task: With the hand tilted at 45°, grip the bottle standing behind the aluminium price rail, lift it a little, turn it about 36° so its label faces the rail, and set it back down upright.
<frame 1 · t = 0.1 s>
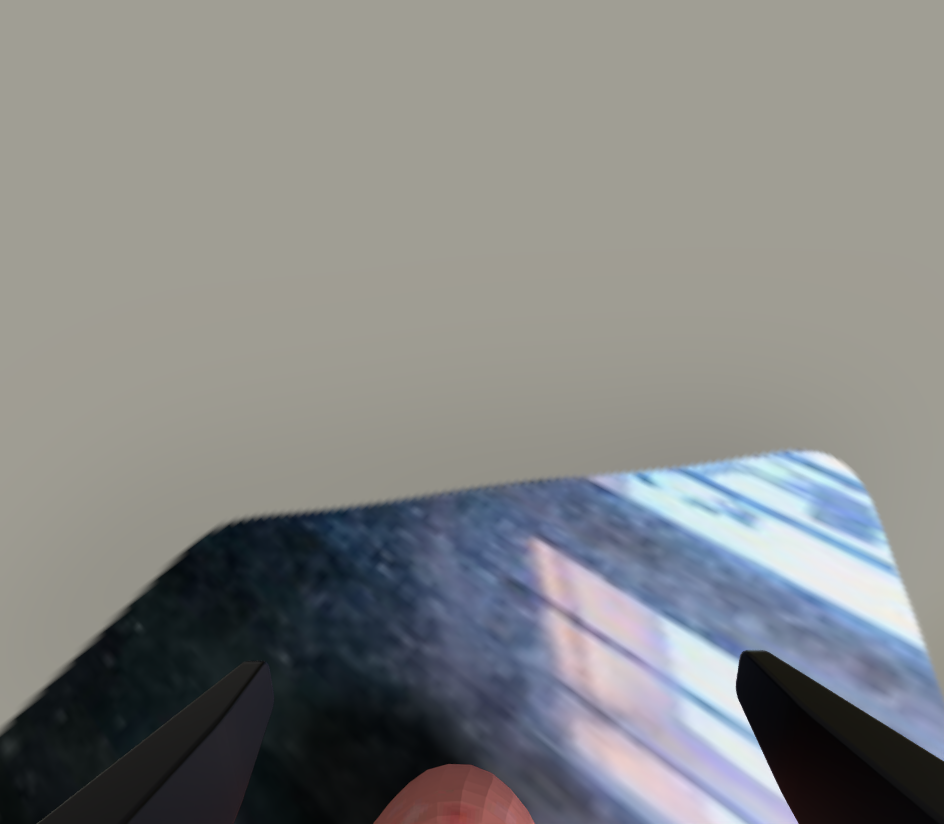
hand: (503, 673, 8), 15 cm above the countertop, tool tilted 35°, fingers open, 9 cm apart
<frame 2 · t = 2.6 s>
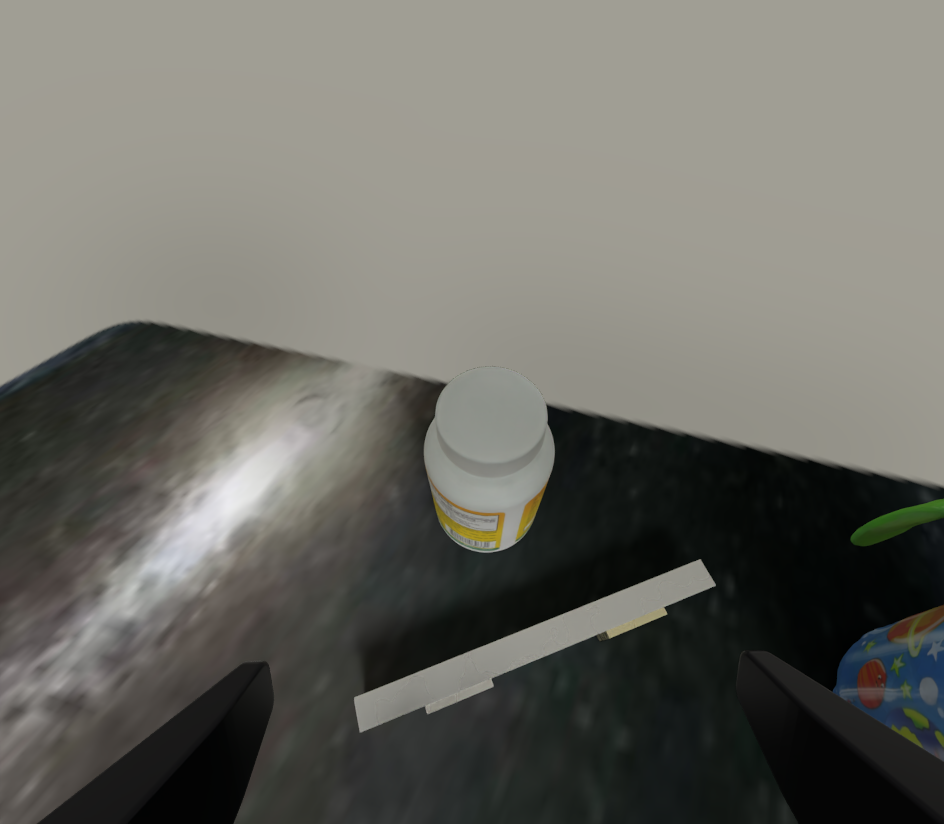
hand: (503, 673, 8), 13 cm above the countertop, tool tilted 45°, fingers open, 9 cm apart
price rail: (538, 642, 20), on the countertop
snack cup: (919, 730, 19), on the countertop
supplement bottle: (486, 504, 24), on the countertop
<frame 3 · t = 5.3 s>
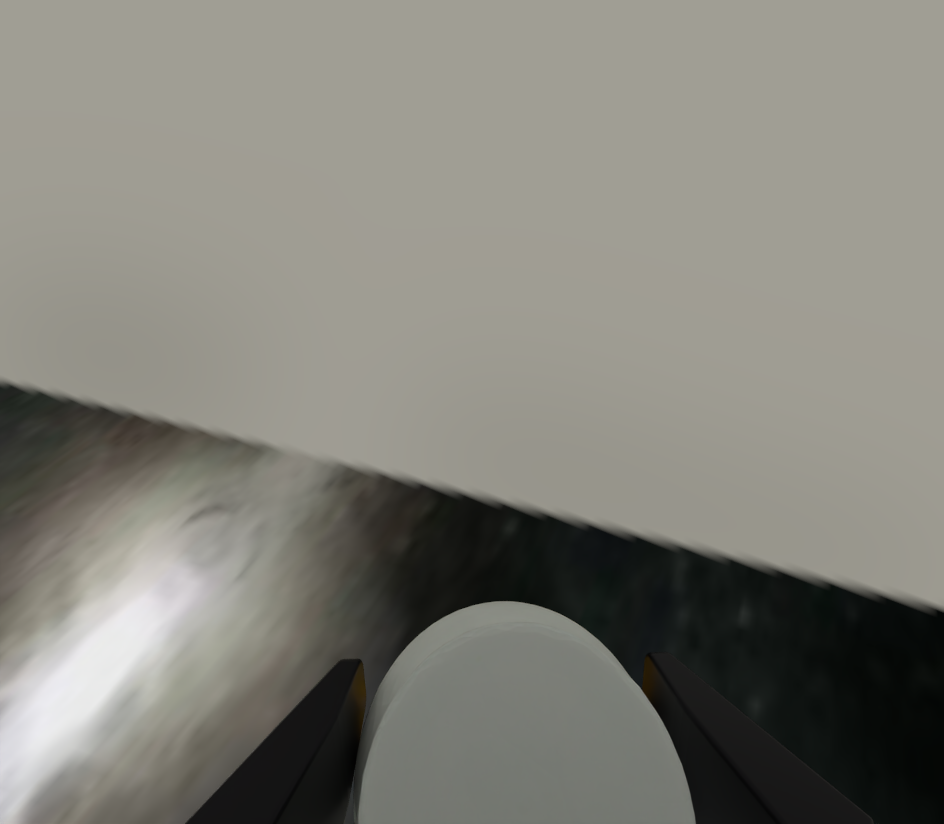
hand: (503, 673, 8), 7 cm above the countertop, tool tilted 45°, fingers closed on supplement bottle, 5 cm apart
supplement bottle: (496, 728, 14), on the countertop, touching gripper
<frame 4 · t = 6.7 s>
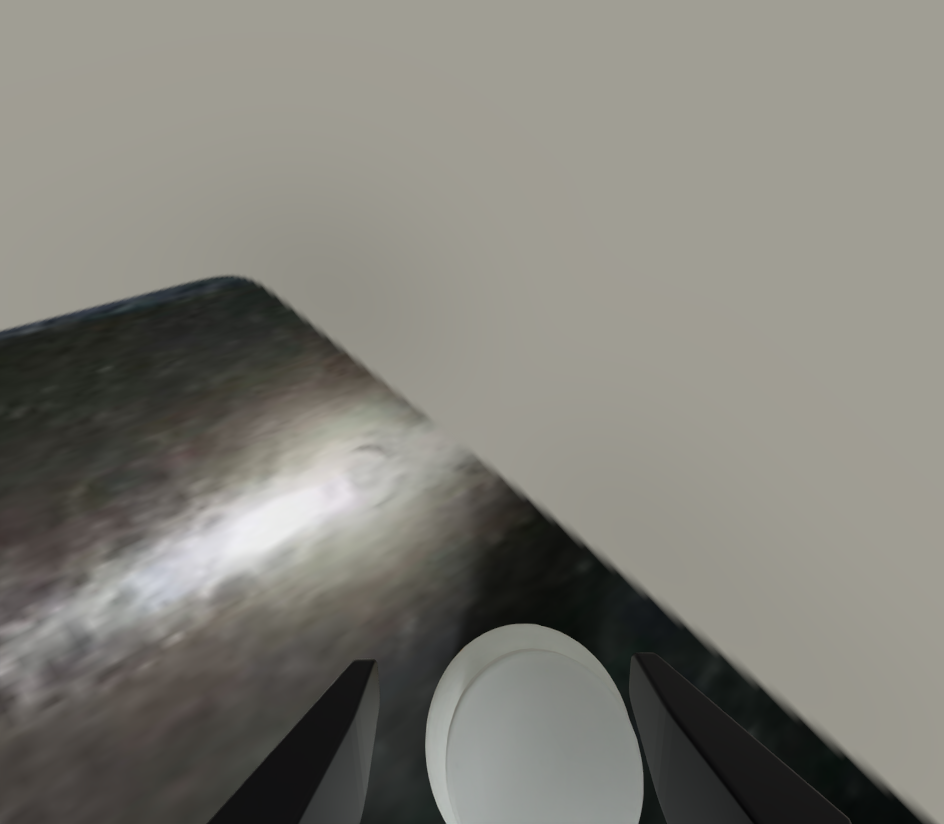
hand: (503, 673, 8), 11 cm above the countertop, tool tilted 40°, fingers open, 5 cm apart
supplement bottle: (511, 706, 18), on the countertop
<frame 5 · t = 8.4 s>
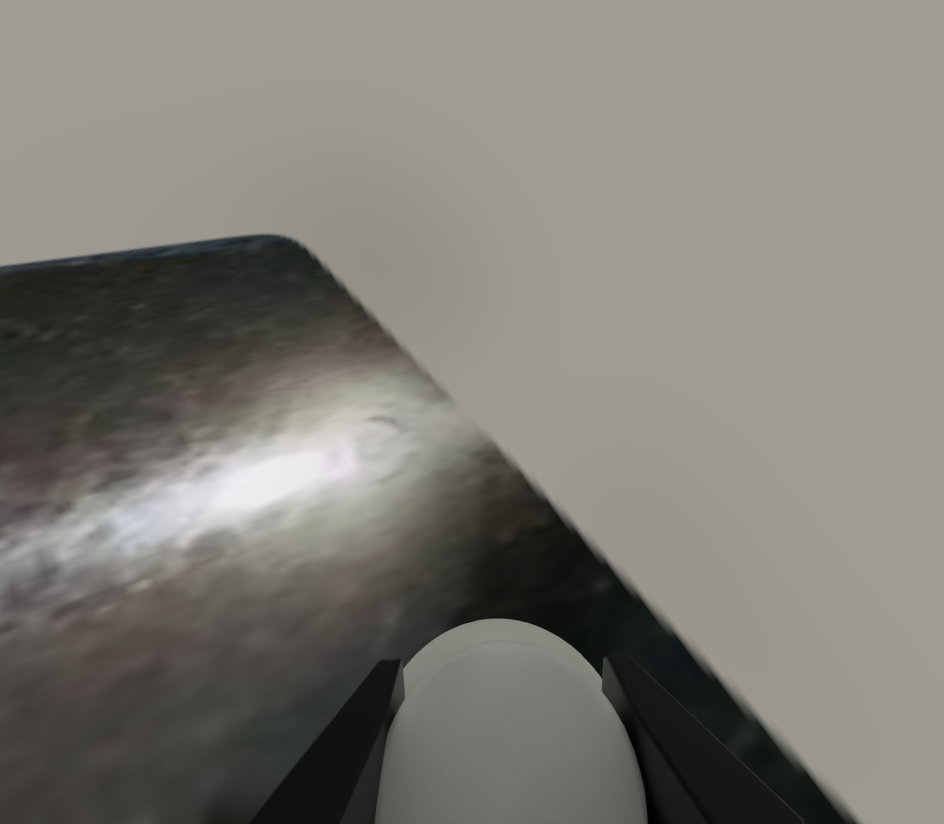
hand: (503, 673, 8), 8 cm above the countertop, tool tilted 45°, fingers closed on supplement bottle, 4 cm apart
supplement bottle: (494, 733, 15), on the countertop, touching gripper
when the fingers open (8 cm above the countertop, at t = 8.7 s): supplement bottle stays where it is, on the countertop.
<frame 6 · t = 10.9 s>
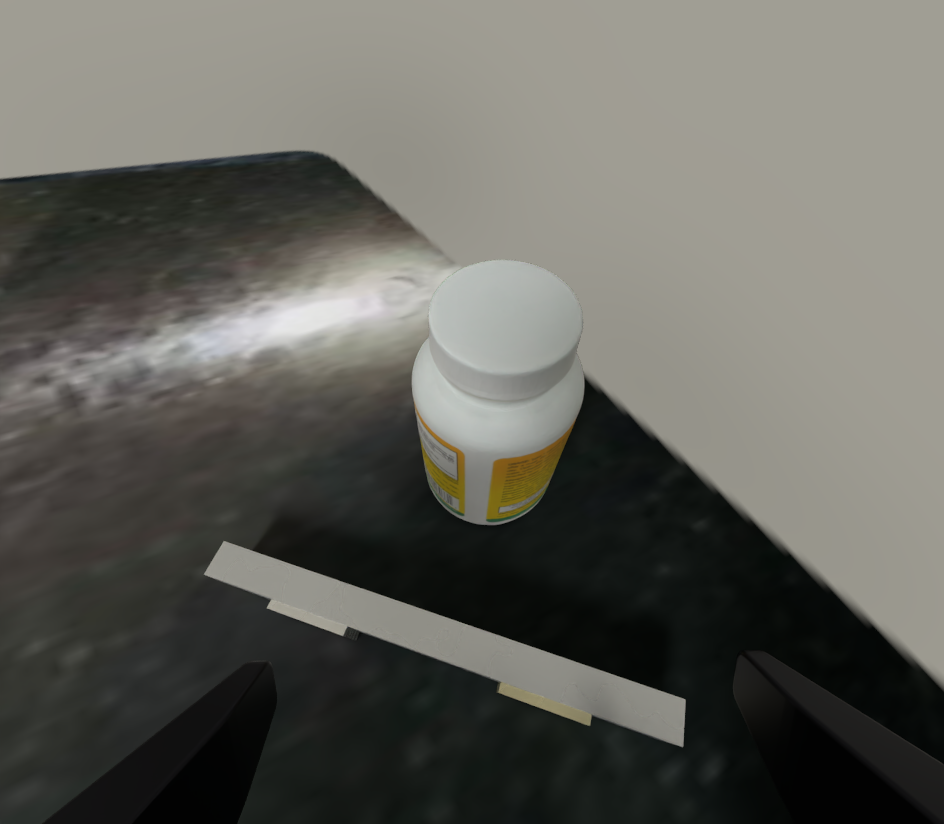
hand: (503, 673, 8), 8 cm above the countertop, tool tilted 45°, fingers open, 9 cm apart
price rail: (433, 638, 16), on the countertop
supplement bottle: (488, 470, 20), on the countertop
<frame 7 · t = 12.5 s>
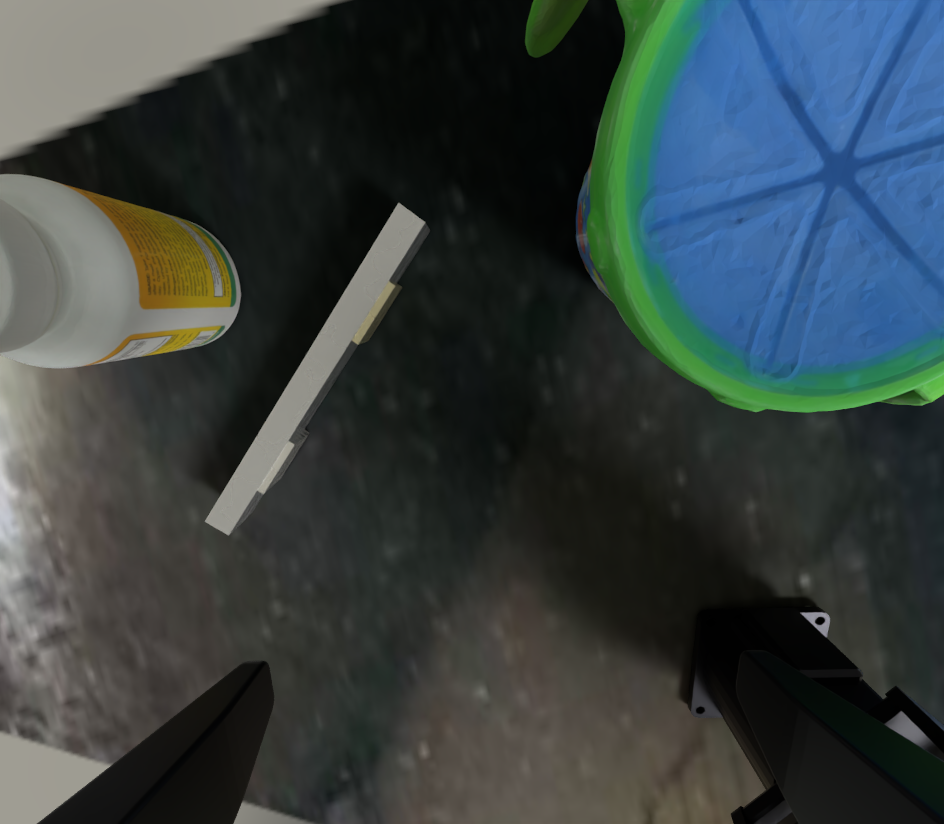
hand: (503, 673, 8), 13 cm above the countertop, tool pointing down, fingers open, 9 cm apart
price rail: (321, 376, 20), on the countertop
snack cup: (662, 220, 19), on the countertop
supplement bottle: (186, 284, 19), on the countertop
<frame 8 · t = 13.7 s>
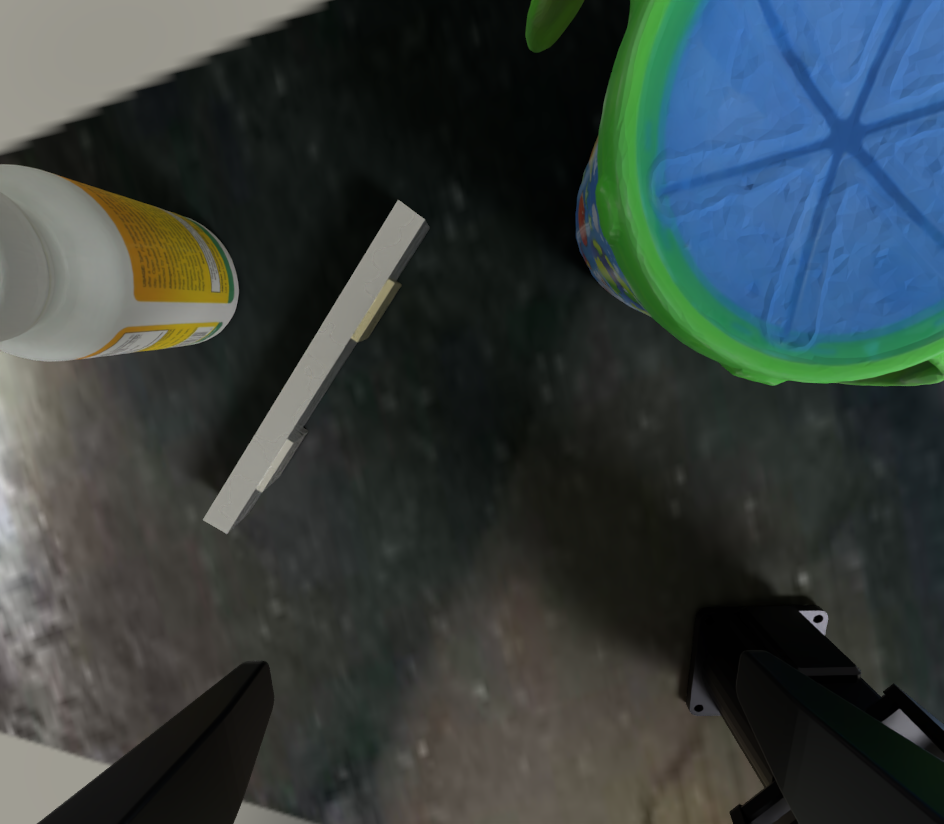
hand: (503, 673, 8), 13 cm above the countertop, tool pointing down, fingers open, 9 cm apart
price rail: (320, 374, 20), on the countertop
snack cup: (660, 219, 19), on the countertop
supplement bottle: (184, 281, 19), on the countertop
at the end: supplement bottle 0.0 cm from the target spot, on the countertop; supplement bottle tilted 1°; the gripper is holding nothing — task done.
